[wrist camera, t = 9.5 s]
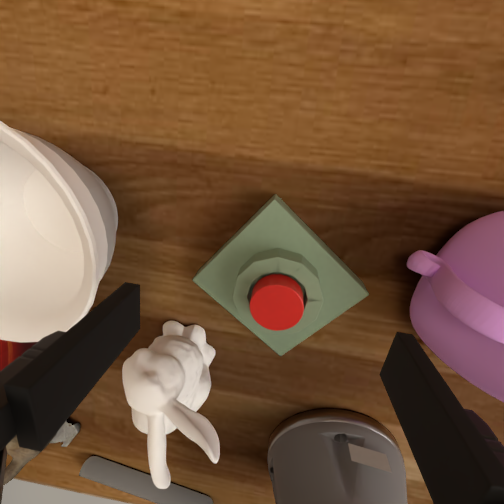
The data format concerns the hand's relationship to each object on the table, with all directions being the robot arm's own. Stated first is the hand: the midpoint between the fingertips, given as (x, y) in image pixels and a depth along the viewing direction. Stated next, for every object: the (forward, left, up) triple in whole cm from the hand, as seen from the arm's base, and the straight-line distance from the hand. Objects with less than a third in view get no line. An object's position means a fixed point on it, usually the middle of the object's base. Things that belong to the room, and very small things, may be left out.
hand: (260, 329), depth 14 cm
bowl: (+15, +10, -11) cm, 22 cm away
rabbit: (-2, +14, -11) cm, 18 cm away
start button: (-2, +1, -7) cm, 8 cm away
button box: (-2, +1, -11) cm, 11 cm away
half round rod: (-14, +39, -11) cm, 43 cm away
